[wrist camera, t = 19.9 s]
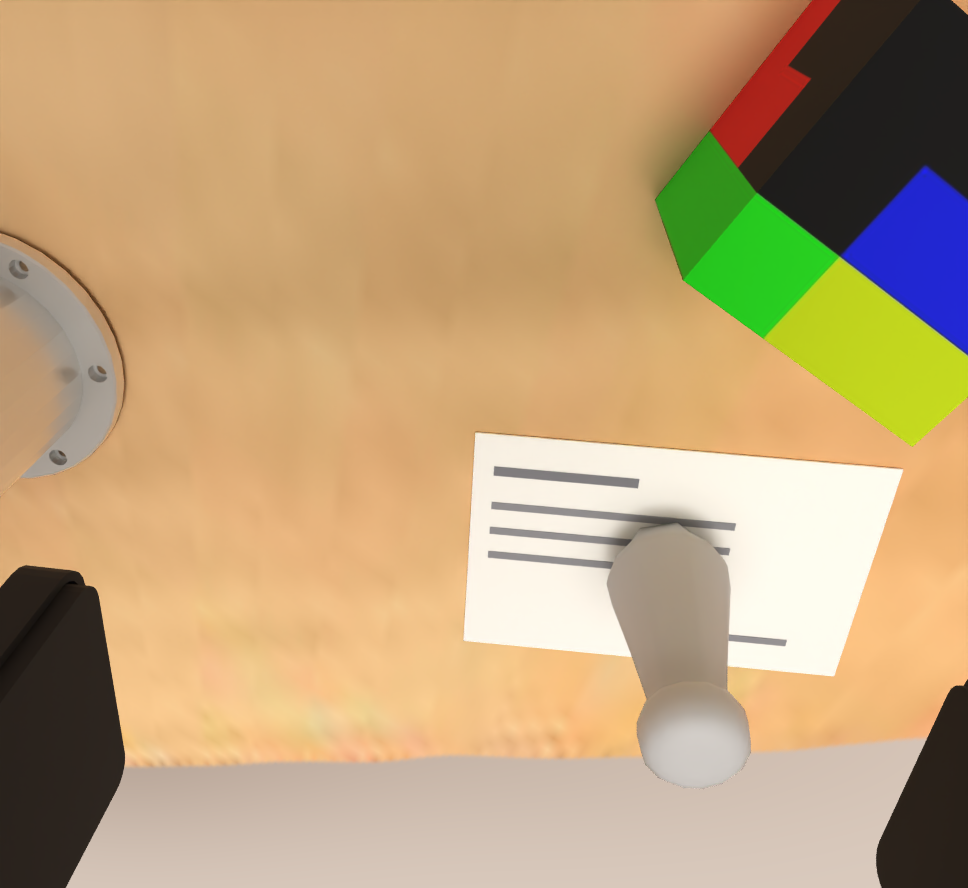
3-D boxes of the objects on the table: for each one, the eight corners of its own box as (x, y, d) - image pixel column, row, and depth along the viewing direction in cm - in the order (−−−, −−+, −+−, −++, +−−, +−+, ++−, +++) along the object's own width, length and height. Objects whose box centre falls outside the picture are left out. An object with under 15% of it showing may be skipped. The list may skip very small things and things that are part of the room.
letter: (463, 639, 49) (463, 641, 49) (475, 431, 43) (475, 433, 42) (833, 674, 48) (834, 677, 48) (902, 468, 42) (903, 470, 42)
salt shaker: (585, 573, 46) (591, 780, 35) (640, 489, 43) (667, 684, 32) (685, 615, 47) (722, 831, 36) (745, 536, 44) (807, 741, 33)
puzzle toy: (1025, 138, 35) (1180, 204, 26) (834, 333, 39) (912, 446, 30) (834, -28, 32) (933, -16, 24) (654, 199, 37) (683, 280, 28)
